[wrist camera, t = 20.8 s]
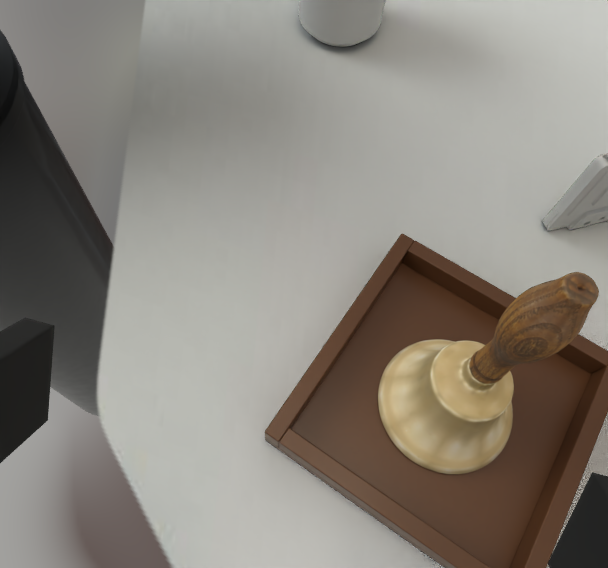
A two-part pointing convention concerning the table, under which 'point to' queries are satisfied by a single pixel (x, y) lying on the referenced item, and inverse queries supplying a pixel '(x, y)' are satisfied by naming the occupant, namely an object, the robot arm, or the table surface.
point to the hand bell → (476, 379)
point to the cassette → (583, 199)
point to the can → (341, 20)
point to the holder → (421, 481)
